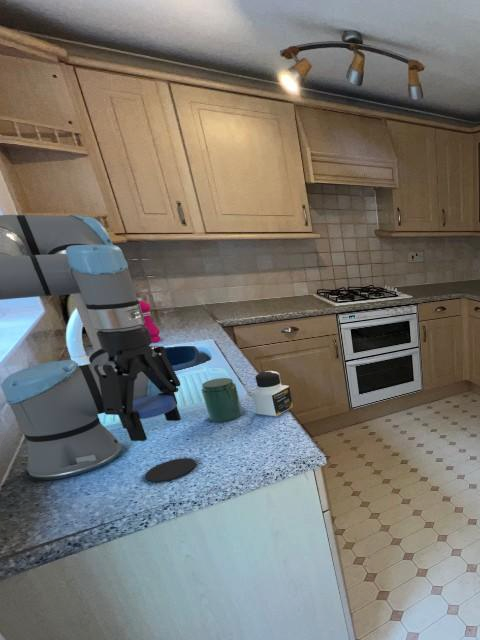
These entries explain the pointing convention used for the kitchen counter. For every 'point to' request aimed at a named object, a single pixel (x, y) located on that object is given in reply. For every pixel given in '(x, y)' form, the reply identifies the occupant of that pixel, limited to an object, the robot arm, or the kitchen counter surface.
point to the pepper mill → (149, 321)
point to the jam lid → (153, 405)
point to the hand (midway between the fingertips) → (157, 429)
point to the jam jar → (221, 399)
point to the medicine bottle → (271, 395)
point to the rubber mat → (170, 470)
